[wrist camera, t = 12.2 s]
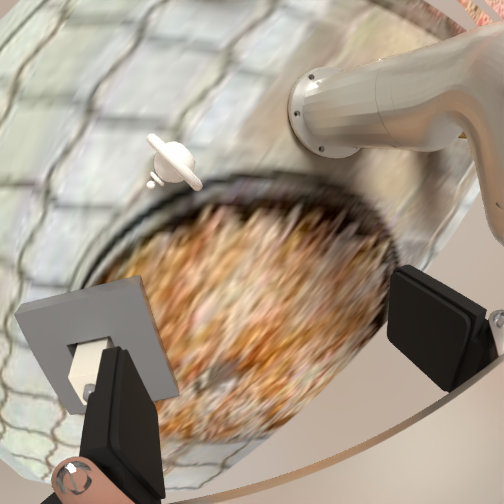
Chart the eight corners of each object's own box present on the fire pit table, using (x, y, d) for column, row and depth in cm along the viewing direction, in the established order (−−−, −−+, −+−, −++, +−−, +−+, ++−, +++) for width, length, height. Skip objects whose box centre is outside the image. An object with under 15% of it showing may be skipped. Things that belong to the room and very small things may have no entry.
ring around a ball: (207, 174, 37) (219, 180, 29) (172, 208, 37) (176, 222, 29) (160, 126, 33) (161, 118, 26) (125, 161, 33) (116, 163, 26)
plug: (109, 331, 39) (100, 381, 29) (119, 357, 40) (115, 409, 31) (80, 337, 38) (65, 386, 28) (91, 362, 39) (82, 413, 30)
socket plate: (140, 274, 38) (139, 284, 35) (177, 382, 44) (179, 395, 41) (21, 304, 34) (14, 314, 31) (72, 402, 40) (70, 414, 37)
